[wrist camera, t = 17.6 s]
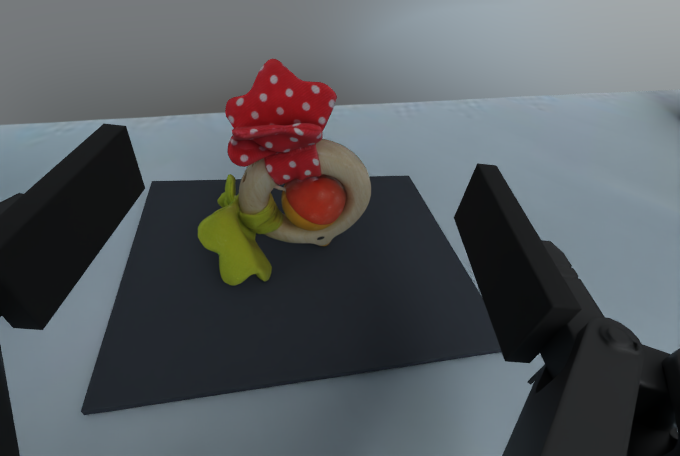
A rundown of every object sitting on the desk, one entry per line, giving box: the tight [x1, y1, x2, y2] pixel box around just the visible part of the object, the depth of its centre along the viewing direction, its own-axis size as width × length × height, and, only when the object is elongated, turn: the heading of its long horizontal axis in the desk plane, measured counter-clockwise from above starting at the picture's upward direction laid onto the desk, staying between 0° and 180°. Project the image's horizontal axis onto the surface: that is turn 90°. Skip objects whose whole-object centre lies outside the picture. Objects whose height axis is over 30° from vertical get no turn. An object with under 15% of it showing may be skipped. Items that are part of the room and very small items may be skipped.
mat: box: [81, 176, 502, 415], centre depth 22 cm, size 20×16×1 cm
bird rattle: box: [198, 59, 371, 286], centre depth 19 cm, size 6×11×9 cm
